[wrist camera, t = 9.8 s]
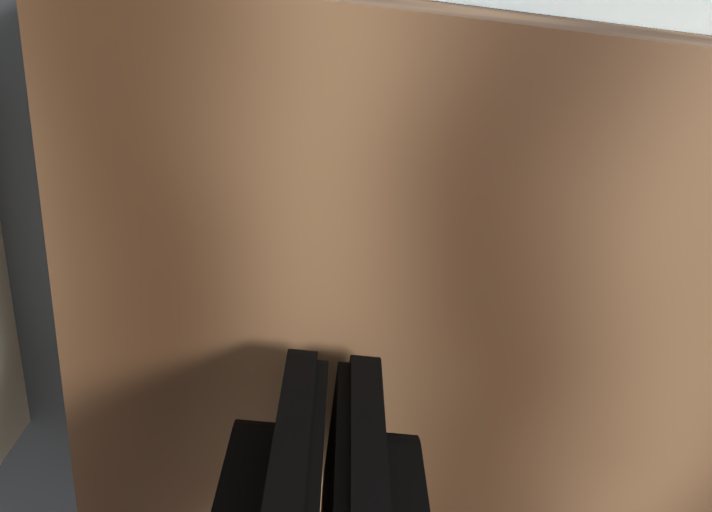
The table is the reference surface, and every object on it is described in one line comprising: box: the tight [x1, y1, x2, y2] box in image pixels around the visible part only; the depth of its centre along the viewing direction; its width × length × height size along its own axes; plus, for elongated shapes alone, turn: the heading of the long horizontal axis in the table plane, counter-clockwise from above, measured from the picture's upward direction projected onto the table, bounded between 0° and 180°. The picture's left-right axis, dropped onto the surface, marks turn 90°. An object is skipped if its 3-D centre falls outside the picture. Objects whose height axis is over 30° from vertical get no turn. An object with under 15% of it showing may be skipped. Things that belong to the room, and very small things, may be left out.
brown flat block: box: [16, 0, 712, 512], centre depth 13 cm, size 16×14×4 cm
